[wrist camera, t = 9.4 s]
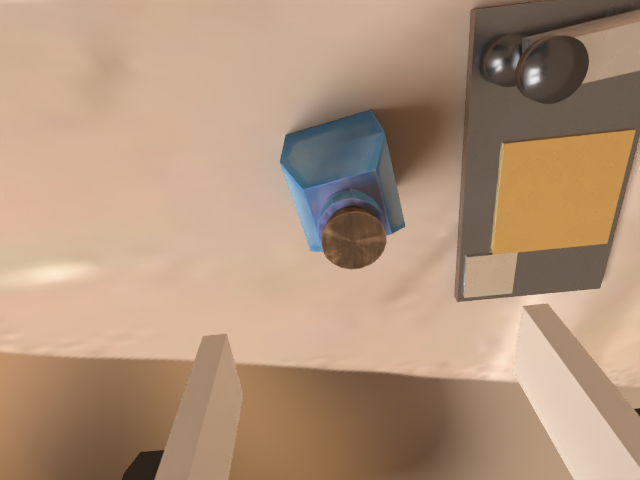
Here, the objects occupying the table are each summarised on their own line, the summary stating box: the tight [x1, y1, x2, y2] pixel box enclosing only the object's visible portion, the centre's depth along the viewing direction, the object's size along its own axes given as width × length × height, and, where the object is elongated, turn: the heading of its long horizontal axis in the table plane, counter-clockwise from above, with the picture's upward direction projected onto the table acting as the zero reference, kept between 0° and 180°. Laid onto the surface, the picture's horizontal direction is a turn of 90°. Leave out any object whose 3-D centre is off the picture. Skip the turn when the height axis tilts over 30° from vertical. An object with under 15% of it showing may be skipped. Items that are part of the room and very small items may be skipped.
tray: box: [455, 0, 640, 302], centre depth 30 cm, size 22×12×2 cm, turn 6°
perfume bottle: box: [280, 110, 405, 269], centre depth 25 cm, size 6×6×12 cm
